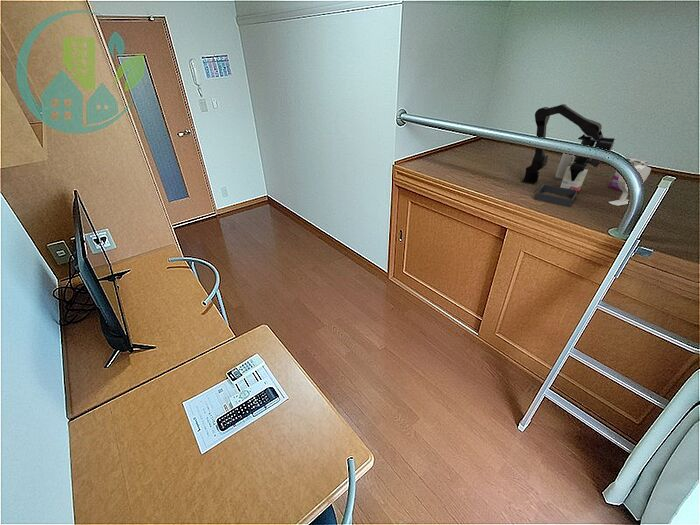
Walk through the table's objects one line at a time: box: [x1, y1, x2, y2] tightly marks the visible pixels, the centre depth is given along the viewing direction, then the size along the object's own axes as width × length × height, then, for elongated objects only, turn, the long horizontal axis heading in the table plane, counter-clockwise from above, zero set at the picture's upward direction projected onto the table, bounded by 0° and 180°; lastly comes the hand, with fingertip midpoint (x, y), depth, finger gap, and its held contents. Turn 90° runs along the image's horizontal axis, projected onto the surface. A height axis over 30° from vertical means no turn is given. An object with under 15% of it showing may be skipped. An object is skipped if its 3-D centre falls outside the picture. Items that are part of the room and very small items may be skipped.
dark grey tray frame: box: [534, 183, 579, 208], centre depth 166 cm, size 16×16×4 cm
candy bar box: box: [608, 156, 650, 192], centre depth 171 cm, size 11×5×16 cm, turn 21°
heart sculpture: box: [608, 165, 652, 207], centre depth 157 cm, size 16×5×18 cm, turn 110°
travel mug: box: [554, 152, 576, 181], centre depth 186 cm, size 6×7×20 cm
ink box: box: [559, 166, 589, 192], centre depth 172 cm, size 9×5×12 cm, turn 30°
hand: (573, 179), depth 172 cm, fingers closed on ink box, 6 cm apart
